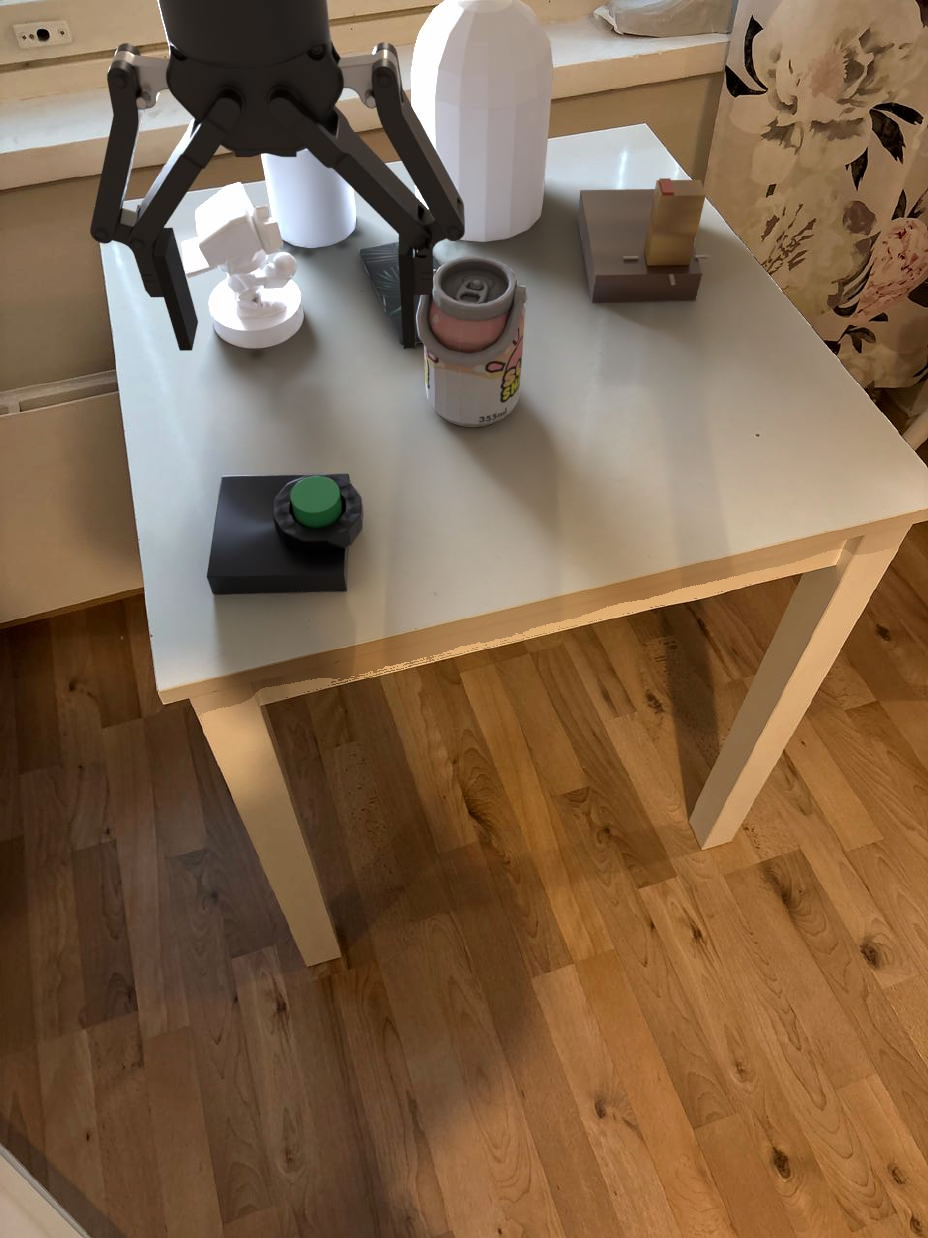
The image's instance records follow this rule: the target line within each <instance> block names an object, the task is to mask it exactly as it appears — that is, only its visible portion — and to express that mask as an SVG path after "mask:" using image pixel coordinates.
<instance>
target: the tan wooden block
mask: <svg viewBox="0 0 928 1238" xmlns="http://www.w3.org/2000/svg"><path fill="white" fill-rule="evenodd" d="M654 189H655V191H654V196H653V202H652V207H651V213H650V218H649V224H648V229H647V235H646V240H645V246H644V252H645V257H646V261H647V265H648V266H655V265H690V261H691V257H692V253H693V248H694V246H695V244H696V239H697V235H698V230H699V226H700V222H701V217H702V213H703V210H704V205H705V200H706V192H705V188H704V186H703V182H702V179H671V177H670V178H667V177H665V178H663V177H661V178H660V177H659V179H657V180H656V181H655V186H654Z"/></svg>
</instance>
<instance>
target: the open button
mask: <svg viewBox="0 0 928 1238" xmlns="http://www.w3.org/2000/svg"><path fill="white" fill-rule="evenodd" d="M291 502H292V507H293V512H294V516H295V518H296V519H297V521H298V522H299V523H301V524H302V525H304V526H307V527H310V528H322V527H326V526H328V525H331V524H332V523H334V522H335V521H336V520H337V519H338V518H339V517H340V515H341V512H342V503H341V496H340V490H339V487H338V485H337V484H336V483H335V482H334V481H333V480H331V479H329V478H326V477H322V476H312V477H308V478H305V479H303V480H301V481H299V482H298V483H297V484H296V485H295V486H294V487H293V489H292V491H291Z"/></svg>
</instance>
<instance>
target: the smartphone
mask: <svg viewBox="0 0 928 1238" xmlns="http://www.w3.org/2000/svg"><path fill="white" fill-rule="evenodd" d="M398 244H399V241H395V242H390V243H384V244H380V245H375V246H370V247H369V246H368V247H364V248H361V249H360V250H359V251H358V254H359V255H358V256H359V257H360V260H361V262H362V264H363V266H364V268H365V271H366V273H367V275H368V276H369V279H370V281H371V283H372V286H373V288H374V290H375V292H376V295H377V298H378V300H379V302H380V304H381V306H382V308H383V309H384V313H385V315H386V317H387V319H388V321H389V323H390V325H391V328H392V329H393V331H394V333H395V335H396V338H397V339H398V342H399V345H401V346H403V332H402V314H401V296H400V279H399V261H398ZM439 267H440V265H439V263H438V261H437V259H436V257H435V256H434V255H433V269H434V270H438V268H439ZM420 298H421V295H415V306H416V315H417V311H418V306H419V302H420ZM420 343H422V341H421V340H420V338H419V337H418V330H417V323H416V344H420Z"/></svg>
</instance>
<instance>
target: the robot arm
mask: <svg viewBox="0 0 928 1238" xmlns="http://www.w3.org/2000/svg"><path fill="white" fill-rule="evenodd" d="M157 2H158V7H159V10H160V15H161V20H162V25H163V28H164V31H165V36H166V41H167V44H168V49H169V58H165V57H164V58H163V57H155V56H145V55H142V54H141V52H140V50H139V49H138V48H137V47H136V46H135V45H134V44H131V43H128V42H124V43H121V44H120V45H118V46H117V49H116V51H115V53H114V56H113V58H112V61H111V64H110V66H109V69H108V71H107V73H106V81H107V87H108V92H109V98H110V103H111V108H112V109H111V110H112V114H113V116H112V121H111V126H110V130H109V136H108V140H107V144H106V145H107V146H106V149H105V155H104V159H103V165H102V168H101V169H102V170H101V175H100V179H99V184H98V189H97V194H96V199H95V204H94V209H93V214H92V218H91V223H90V230H89V233H90V236H91V238H92V239H94V241H96V242H97V243H100V244H103V245H105V244H110V243H112V241H113V242H117V243H120V244H121V245H125V246H126V247H127V248H129V250H131V252H132V254H133V256H134V259H135V262H136V263H135V264H136V265H137V266H136V267H137V269H138V272H139V274H140V279H141V281H142V284H143V288H144V290H145V292H146V293H147V294H148V296H149V297H150V298H163V299H164V303H165V306H166V307H165V308H166V310H167V313H168V317H169V319H170V323H171V326H172V329H173V334H174V336H175V340H176V343H177V346H178V349H179V351H180V352H182V351H183V352H184V351H185V352H187V351H188V352H189V351H193V349H194V345H195V339H196V334H197V331H198V326H199V319H198V315H197V312H196V308H195V304H194V301H193V297H192V293H191V291H190V286H189V283H188V278H187V276H186V274H185V271H184V264H183V259H182V256H181V252H180V250H179V246H178V242H177V239H176V235H175V231H174V228H173V227H166V225H167V223H168V222H169V221H170V219H171V217H173V214H174V213H175V211H176V210H177V208H178V207H179V205H180V204H181V202H182V201H183V199H184V197H185V196H186V195H187V193H188V191H189V190H190V189H191V187H192V185H193V184H194V182H195V181H196V179H197V178H198V176H199V175H200V173H201V172H202V170H205V168H206V167H207V166H208V165H209V163H210V161H211V160H212V158H213V157H214V155H215V154H216V152H217V151H218V149H219V148H220V146H221V147H222V148H224V149H225V150H227V151H229V152H232V153H234V156H235V158H253V157H257V156H261V154H264V153H267V154H271V155H275V156H279V157H297V152H300V151H302V150H304V149H306V148H307V149H308V150H309V151H310V152H311V153H312V154H313V155H314V156H315V157H316V158H317V159H318V160H319V161H320V162H321V163H322V164H323V165H324V166H325V167H327V168H332V169H334V170H335V171H336V172H337V173H338V174H339V175H340V176H341V177H342V178H343V179H344V180H345V181H346V182H347V183H348V184H349V185H350V186H351V187H352V188H353V190H354V192H356V193H357V194H358V195H359V196H360V197H361V198H362V200H363V201H365V202H366V203H367V204H368V205H369V206H370V207H371V209H373V211H375V212H376V213H377V214H378V215H379V216H380V217H381V218H382V219H383V221H385V222H386V224H388V225H389V227H390V228H391V229H393V230H394V231H395V232H396V233H397V234H398V242H399V244H398V261H399V279H400V296H401V314H402V332H403V345H402V347H403V348H402V349H403V350H416V348H417V343H416V306H415V295H430V294H431V292H432V290H433V256H434V249H435V246H436V245H437V244H438V243H439V242H441V241H444V240H448V241H449V242H457V241H461V240H460V239H461V238H462V237H463V236H464V233H465V219H464V203H463V201H462V199H461V197H460V195H459V193H458V191H457V189H456V187H455V186H454V184H453V182H452V180H451V178H450V176H449V174H448V172H447V171H446V169H445V167H444V165H443V163H442V161H441V159H440V157H439V155H438V154H437V152H436V150H435V148H434V146H433V144H432V142H431V140H430V139H429V137H428V135H427V133H426V131H425V129H424V127H423V125H422V124H421V122H420V120H419V118H418V116H417V114H416V112H415V110H414V109H413V107H412V102H411V101H410V99H409V97H408V96H407V94H406V91H405V90H404V87H403V82H402V74H401V69H400V62H399V54H398V52H397V48H396V47H395V46H394V45H393V44H392V43H390V42H385V41H382V42H379V43H377V44H376V46H374V49H373V51H372V53H371V54H363V55H356V56H355V55H354V56H349V57H348V56H347V57H346V56H345V57H341V56H340V54H339V53H338V51H337V50H336V47H335V45H334V43H333V40H332V35H331V27H330V17H329V8H328V6H329V5H328V0H157ZM344 89H349V90H352V91H354V92H355V93H356V94H357V95H358V97H359V99H360V101H361V102H362V104H363V105H364V106H365V107H367V108H368V109H369V110H370V109H371V110H373V109H376V112H377V116H378V119H379V121H380V124H381V127H382V128H383V131H384V133H385V135H386V136H387V138H388V139H389V142H390V143H391V145H392V147H393V149H394V150H395V152H396V154H397V156H398V157H399V159H400V162H401V163H402V165H403V166H404V168H405V170H406V171H407V174H408V175H409V177H410V178H411V180H412V182H413V184H414V187H415V186H416V187H417V189H418V191H419V193H420V194H421V196H422V198H423V200H424V201H425V203H426V205H427V207H428V208H429V209H428V208H427V207H426V206H425V205H424V204H423V203H422V202H421V201H420V200H419V199H418V198H417V197H416V194H415V193H414V192H413V191H412V190H411V189H410V188H409V187H408V186H407V185H406V183H404V182H403V181H402V179H401V178H399V176H397V174H395V172H394V171H392V169H391V168H390V167H389V166H388V165H387V164H386V162H384V161H383V160H382V159H381V158H380V156H379V155H378V154H377V153H375V152H374V150H373V149H372V148H371V147H370V146H369V145H368V144H367V143H366V142H365V141H364V140H363V139H362V138H361V136H360V135H358V134H357V132H356V131H355V130H354V129H353V128H352V126H351V124H350V122H349V120H348V118H347V117H346V116H345V114H344V113H343V112H342V111H341V110H340V108H338V107H337V106H336V104H337V103H338V101H339V100H340V98H341V97H342V94H343V91H344ZM164 90H168V91H169V92H170V94H171V95H172V96H173V98H174V99H175V100H176V101H177V102H178V103H179V104H180V105H181V106H182V107H183V108H184V110H185V111H187V112H188V113H189V115H191V117H192V119H191V120H190V122H189V125H188V127H187V128H186V130H185V132H184V134H183V135H182V137H181V139H180V140H179V142H178V143H177V144H176V147H175V148H174V150H173V151H172V152H171V155H170V156H169V158H168V159H167V161H166V162H165V164H164V166H163V167H162V169H161V170H160V172H159V173H158V176H157V177H156V178H155V181H153V184H152V185H151V187H150V188H149V190H148V191H147V193H146V195H145V196H144V198H143V199H142V201H141V203H140V204H137V206H136V210H135V211H134V210H131V209H128V208H125V207H124V203H125V198H126V194H127V190H128V185H129V181H130V176H131V172H132V169H133V164H134V160H135V154H136V150H137V147H138V141H139V138H140V133H141V130H142V129H141V128H142V124H143V120H144V115H145V111H146V110H148V109H152V108H153V107H155V105H156V103H157V101H158V97H159V95H160V92H161V91H164Z"/></svg>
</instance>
